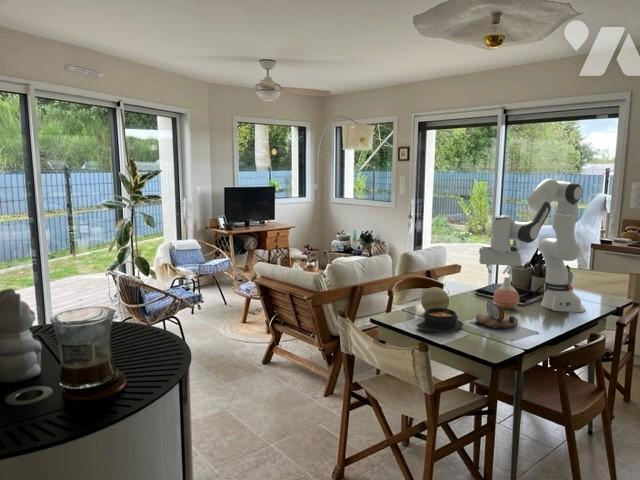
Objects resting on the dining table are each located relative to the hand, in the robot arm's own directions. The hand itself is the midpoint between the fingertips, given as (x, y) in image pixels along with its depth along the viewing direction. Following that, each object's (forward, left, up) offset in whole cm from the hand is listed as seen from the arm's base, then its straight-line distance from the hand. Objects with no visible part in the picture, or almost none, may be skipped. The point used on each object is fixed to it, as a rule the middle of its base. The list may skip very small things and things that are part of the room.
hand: (499, 273), depth 250 cm
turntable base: (0, +7, -25) cm, 26 cm away
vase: (-4, -24, -25) cm, 35 cm away
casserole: (+26, +24, -25) cm, 44 cm away
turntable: (0, +7, -24) cm, 25 cm away
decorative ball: (+32, +2, -25) cm, 41 cm away
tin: (+1, +7, -22) cm, 23 cm away
